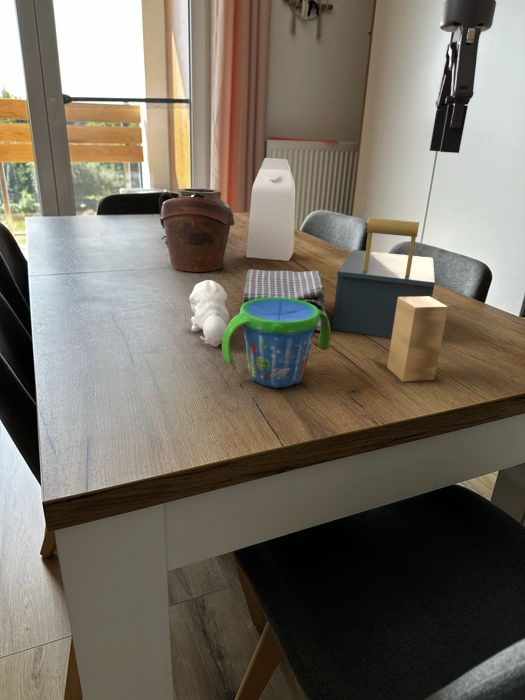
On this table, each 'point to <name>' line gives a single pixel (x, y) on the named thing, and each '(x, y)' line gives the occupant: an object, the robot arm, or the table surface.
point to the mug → (189, 193)
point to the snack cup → (277, 338)
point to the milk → (272, 212)
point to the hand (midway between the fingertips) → (442, 152)
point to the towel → (285, 287)
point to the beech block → (416, 338)
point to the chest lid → (390, 258)
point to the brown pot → (196, 231)
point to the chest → (370, 304)
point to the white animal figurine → (209, 311)
